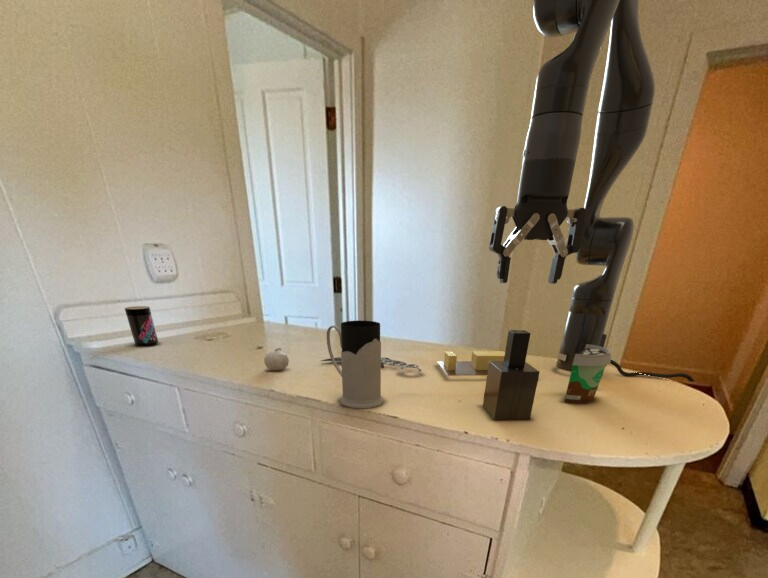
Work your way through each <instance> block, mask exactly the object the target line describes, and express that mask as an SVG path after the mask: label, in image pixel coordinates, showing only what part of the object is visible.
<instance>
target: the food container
mask: <svg viewBox="0 0 768 578" xmlns="http://www.w3.org/2000/svg"><path fill="white" fill-rule="evenodd" d="M611 360H612V354H611V350H610V349H608V348H607V347H605V346H604V347H600V346H595V345H588V344H586V347H585V350H584V351H581V352H580V354H575V357H574V361H573V364H572V365H573V366H572V371H570V376H569V380H568V384H567V388H566V393H565V397H564V401H563V403H568V404H588V403H591V402H593V401H594V399H595V396H596V393H597V391H598V387H599V385H600V382H601V380H602V378H603V374H604V371H605V369H606V367H607V366H606V365H610V362H611Z"/></svg>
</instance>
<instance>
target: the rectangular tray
mask: <svg viewBox="0 0 768 578" xmlns="http://www.w3.org/2000/svg"><path fill="white" fill-rule="evenodd" d="M437 363H438V365H439V366H440V368H441V369H442V370H443V371H444V373H445V374H446V376H450V377H451V376H452V377H456V376H461V377H462V376H487V373H488V370H475V369H474V368H473V367H472V366H471V360H456V370H447V369H446V368H445V366H444V360H442V361H441V360H439V361H437Z"/></svg>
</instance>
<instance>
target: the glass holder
mask: <svg viewBox="0 0 768 578" xmlns="http://www.w3.org/2000/svg"><path fill="white" fill-rule="evenodd" d="M333 328H334V329H335V330H336V332H337V334H338V337H339V345H340V348H341V351H340V357H341V368H340V367H339V365H338V364H337V361H335V359H334V358H335V357H334V353H333V351H332V350H333V349H332V346H331V330H332V329H333ZM326 346H327V351H328V354H329V357H330V358H331V360H332V361H331V363H332V364H333V366H334V368H335V370H336V371H337V373H338V374H339V375H340V376H341V383H342V397H341V399H340V403H341V404H342V405H343V406H345V407H347V408H353V409H370V408H371V409H372V408H375V407H379V406H381V405H382V404H383V402H384V400H383V398H382V387H381V385H382V367H381V357H382V342H381V323H380V322H377V321H373V320H347V321H343V322H341V323H340V327H339V326H337V325H330V326H329V327H328V328H327V330H326ZM330 358H329V359H330Z"/></svg>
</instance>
